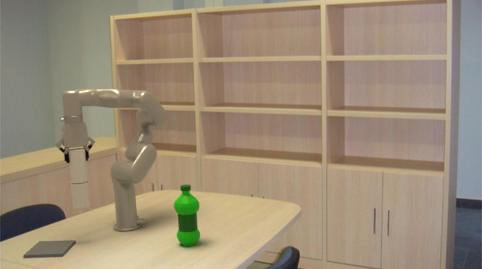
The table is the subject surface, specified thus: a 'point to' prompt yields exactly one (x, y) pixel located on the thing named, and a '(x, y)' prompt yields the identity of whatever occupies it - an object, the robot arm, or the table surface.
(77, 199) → the cylindrical container
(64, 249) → the charcoal mat
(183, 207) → the plastic bottle
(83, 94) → the robot arm
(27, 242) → the table surface
